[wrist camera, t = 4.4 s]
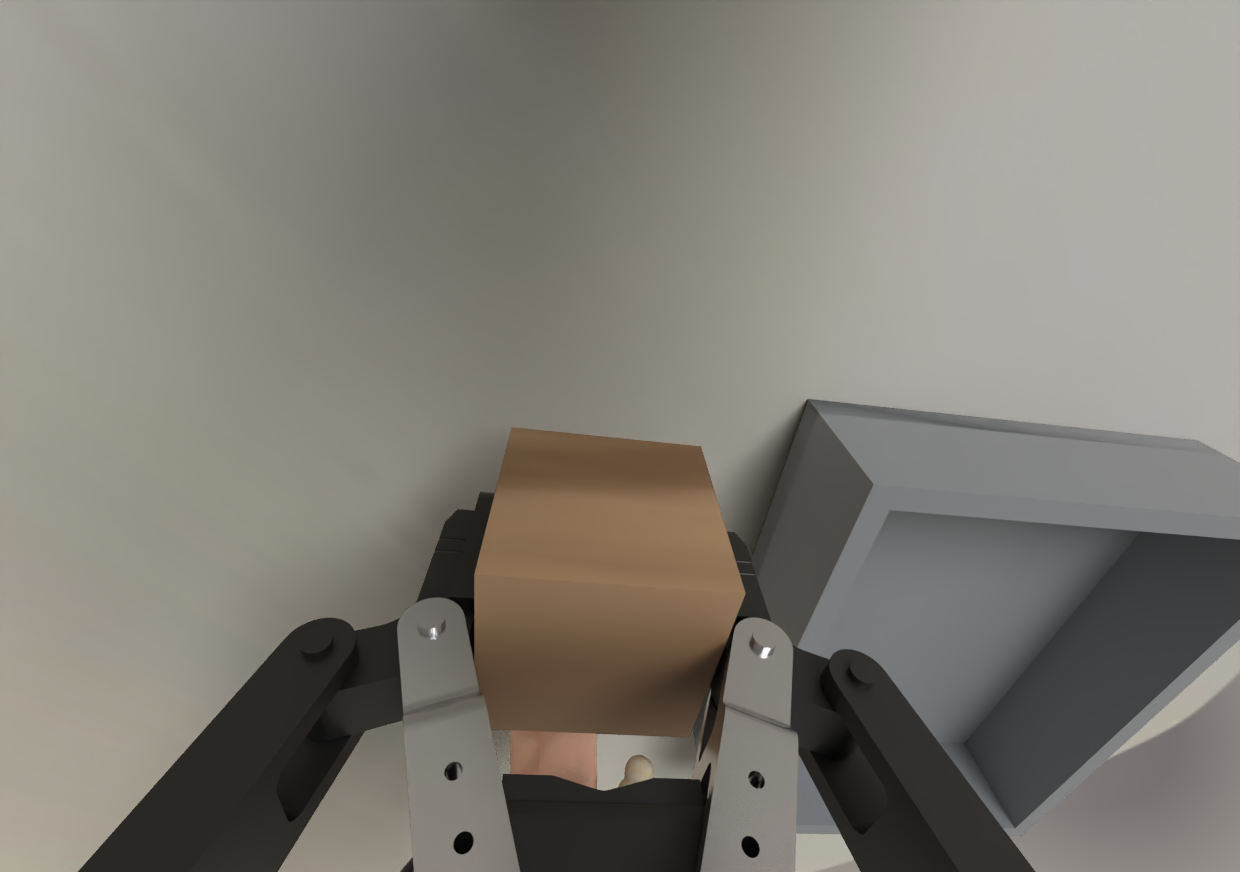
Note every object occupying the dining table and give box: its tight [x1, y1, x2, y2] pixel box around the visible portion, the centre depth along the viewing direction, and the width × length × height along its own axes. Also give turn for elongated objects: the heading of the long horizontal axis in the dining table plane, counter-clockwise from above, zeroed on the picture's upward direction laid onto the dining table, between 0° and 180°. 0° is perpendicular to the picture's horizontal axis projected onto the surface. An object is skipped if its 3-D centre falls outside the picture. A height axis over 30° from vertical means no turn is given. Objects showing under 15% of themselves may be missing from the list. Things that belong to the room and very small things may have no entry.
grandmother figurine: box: [510, 730, 653, 789], centre depth 20 cm, size 8×4×13 cm, turn 121°
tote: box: [693, 399, 1240, 836], centre depth 22 cm, size 20×16×5 cm
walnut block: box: [474, 428, 746, 737], centre depth 13 cm, size 5×5×5 cm
